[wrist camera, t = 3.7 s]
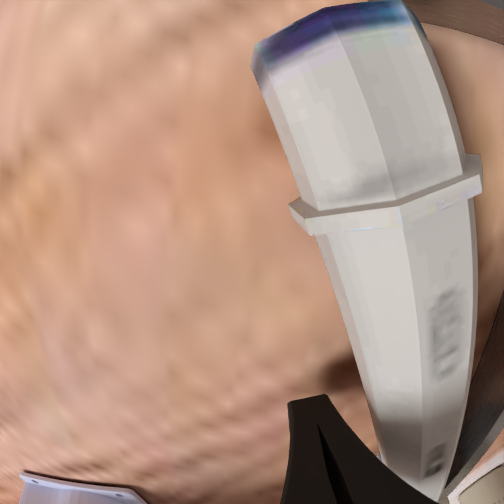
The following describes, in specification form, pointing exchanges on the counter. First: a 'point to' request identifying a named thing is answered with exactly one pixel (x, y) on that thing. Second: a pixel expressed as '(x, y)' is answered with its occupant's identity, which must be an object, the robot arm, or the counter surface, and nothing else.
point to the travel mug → (485, 489)
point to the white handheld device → (385, 215)
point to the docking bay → (500, 341)
